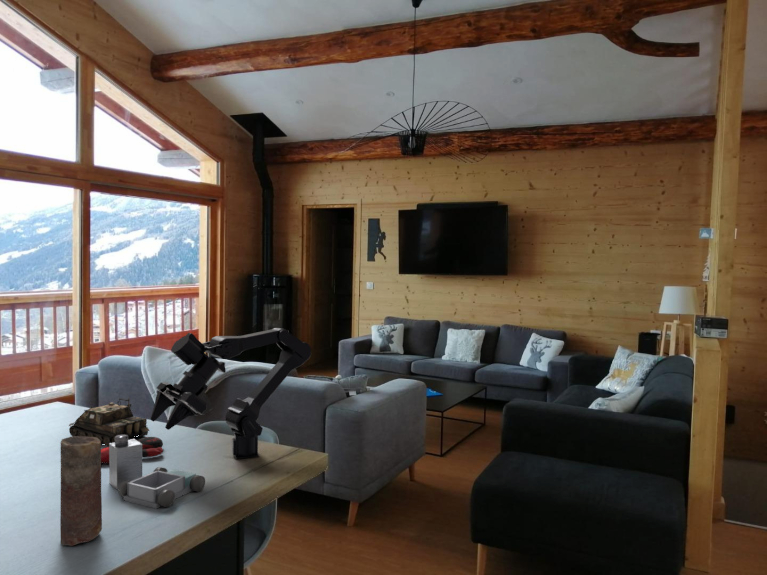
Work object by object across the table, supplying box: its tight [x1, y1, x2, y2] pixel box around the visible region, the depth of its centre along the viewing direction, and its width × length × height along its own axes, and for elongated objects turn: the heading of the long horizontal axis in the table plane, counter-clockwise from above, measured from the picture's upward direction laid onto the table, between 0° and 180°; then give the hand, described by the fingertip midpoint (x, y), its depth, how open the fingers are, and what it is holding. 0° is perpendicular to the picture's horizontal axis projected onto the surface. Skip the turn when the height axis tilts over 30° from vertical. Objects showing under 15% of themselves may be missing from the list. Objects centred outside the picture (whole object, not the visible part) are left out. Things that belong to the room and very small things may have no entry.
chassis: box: [118, 466, 206, 509], centre depth 139 cm, size 14×14×4 cm
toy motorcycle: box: [101, 436, 164, 464], centre depth 163 cm, size 25×5×16 cm
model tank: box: [68, 397, 150, 447], centre depth 182 cm, size 13×22×15 cm, turn 63°
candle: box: [59, 435, 103, 547], centre depth 116 cm, size 8×7×20 cm
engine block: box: [108, 435, 143, 491], centre depth 145 cm, size 6×6×12 cm
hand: (159, 424), depth 150 cm, fingers open, 9 cm apart
